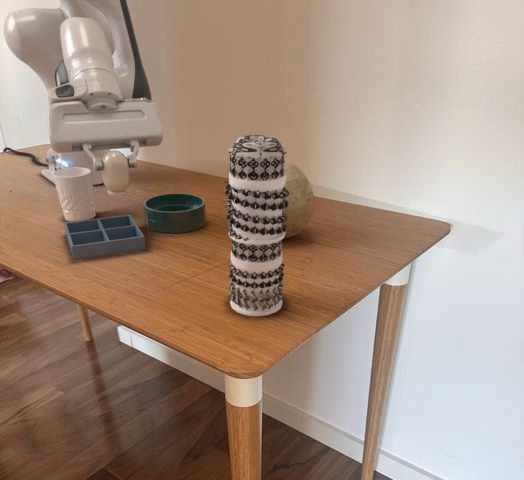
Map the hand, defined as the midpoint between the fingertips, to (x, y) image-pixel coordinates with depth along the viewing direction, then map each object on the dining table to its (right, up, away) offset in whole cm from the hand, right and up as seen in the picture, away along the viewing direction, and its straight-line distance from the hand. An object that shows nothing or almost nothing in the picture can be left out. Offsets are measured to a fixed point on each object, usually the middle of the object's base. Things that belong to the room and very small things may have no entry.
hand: (116, 167), depth 91 cm
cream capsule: (-1, -4, +3) cm, 5 cm away
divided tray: (-5, -12, +10) cm, 16 cm away
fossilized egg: (+31, -9, +14) cm, 35 cm away
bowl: (+8, -6, +19) cm, 21 cm away
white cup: (-14, -3, +22) cm, 27 cm away
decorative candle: (+26, -26, -10) cm, 38 cm away
